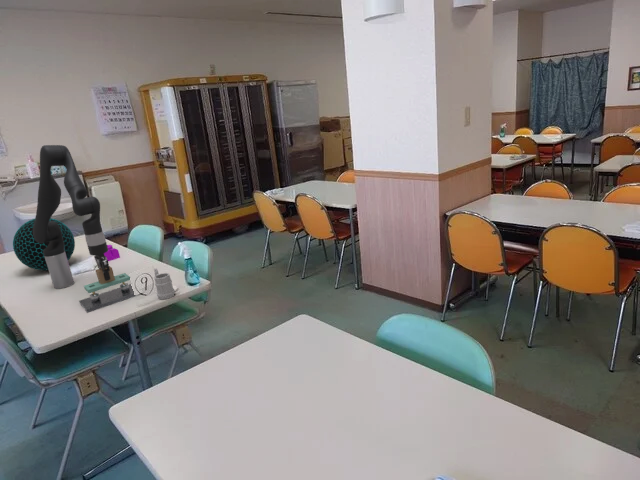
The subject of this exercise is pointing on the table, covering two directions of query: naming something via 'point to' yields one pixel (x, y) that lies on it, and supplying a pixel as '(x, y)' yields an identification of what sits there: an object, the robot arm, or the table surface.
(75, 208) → the robot arm
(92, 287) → the board
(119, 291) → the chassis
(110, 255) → the tape dispenser
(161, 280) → the mug
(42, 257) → the decorative sphere
